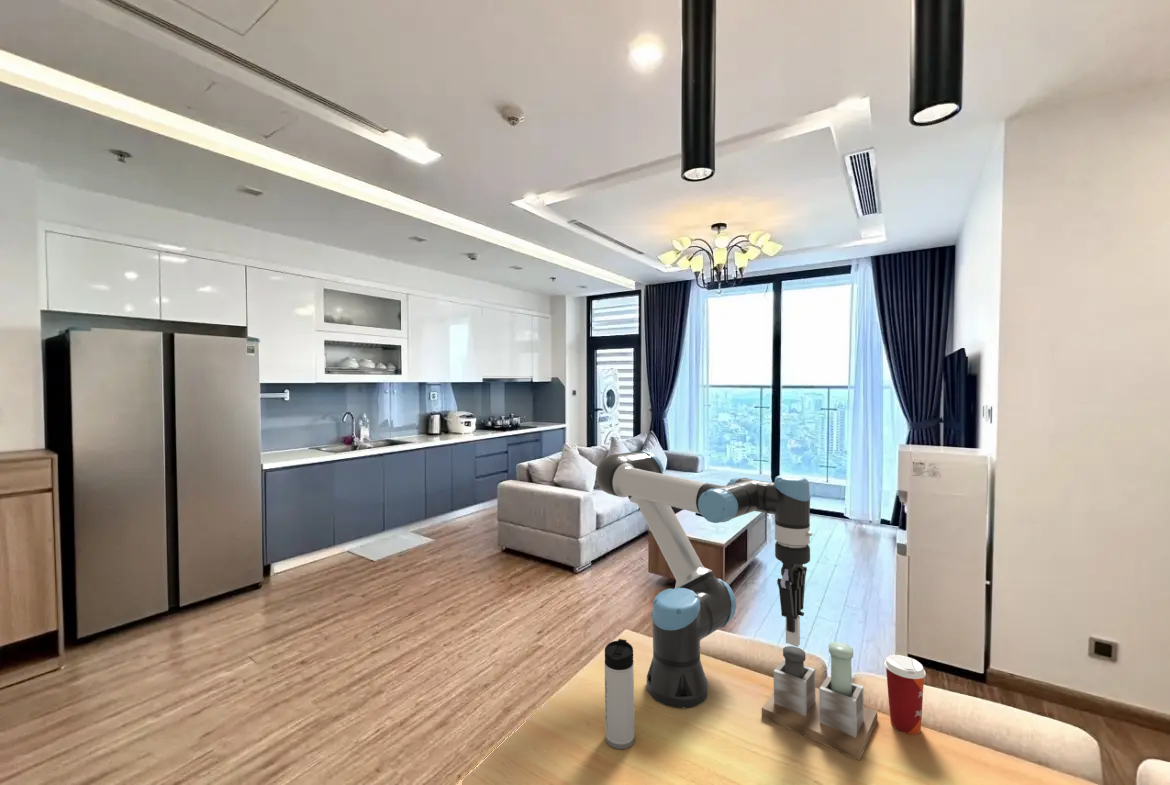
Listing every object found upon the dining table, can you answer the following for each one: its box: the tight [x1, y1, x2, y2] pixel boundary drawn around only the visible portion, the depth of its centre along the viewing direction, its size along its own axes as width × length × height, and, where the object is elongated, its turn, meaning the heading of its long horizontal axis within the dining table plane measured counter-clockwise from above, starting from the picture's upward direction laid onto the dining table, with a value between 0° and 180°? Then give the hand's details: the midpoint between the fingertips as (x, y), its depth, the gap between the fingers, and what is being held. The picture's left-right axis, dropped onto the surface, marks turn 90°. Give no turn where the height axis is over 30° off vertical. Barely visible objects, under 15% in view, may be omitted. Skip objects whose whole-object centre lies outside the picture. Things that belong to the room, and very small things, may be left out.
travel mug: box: [604, 638, 636, 750], centre depth 104 cm, size 6×7×20 cm
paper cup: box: [883, 654, 927, 735], centre depth 107 cm, size 8×8×14 cm
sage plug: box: [828, 641, 854, 697], centre depth 105 cm, size 5×5×11 cm
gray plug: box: [782, 645, 806, 679], centre depth 112 cm, size 5×5×11 cm
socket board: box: [761, 657, 878, 761], centre depth 109 cm, size 20×16×10 cm
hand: (792, 643), depth 112 cm, fingers closed
